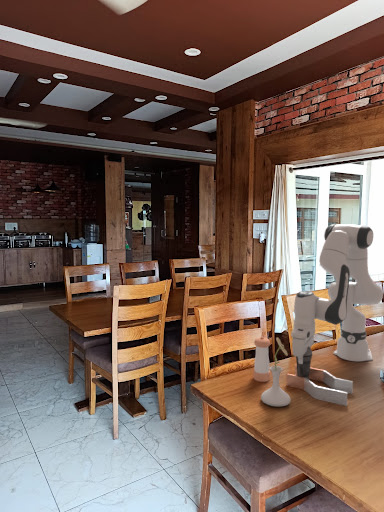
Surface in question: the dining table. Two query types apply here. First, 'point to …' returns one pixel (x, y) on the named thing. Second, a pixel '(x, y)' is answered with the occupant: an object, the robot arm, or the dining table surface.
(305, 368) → the beverage cup
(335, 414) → the dining table surface
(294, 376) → the rail track
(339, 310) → the robot arm
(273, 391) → the flower in vase
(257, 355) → the pepper shaker
